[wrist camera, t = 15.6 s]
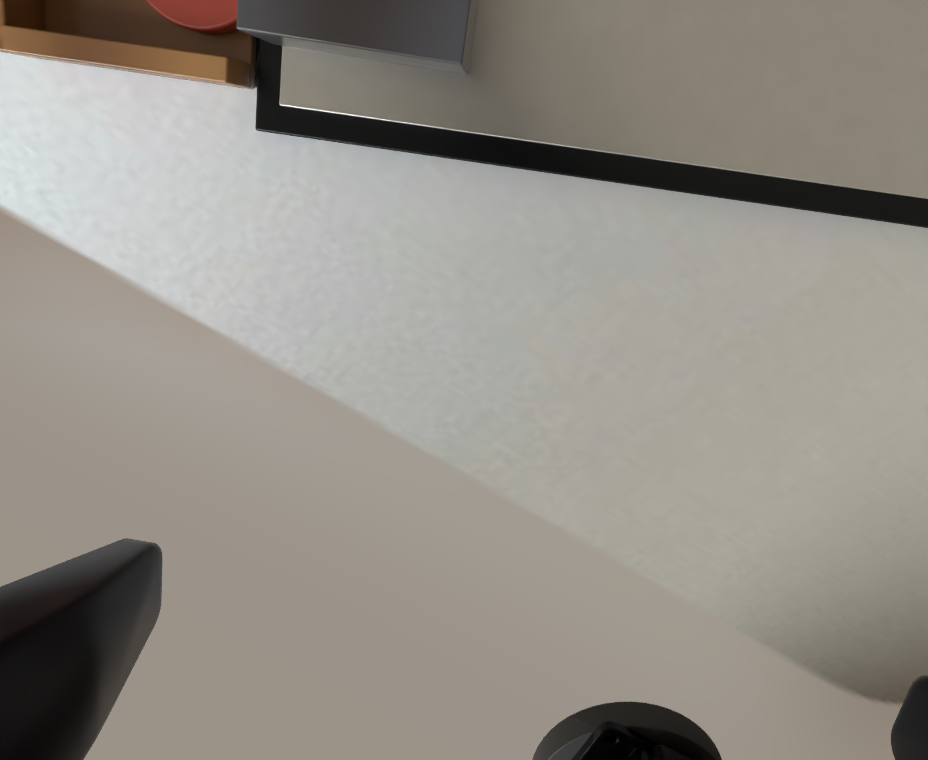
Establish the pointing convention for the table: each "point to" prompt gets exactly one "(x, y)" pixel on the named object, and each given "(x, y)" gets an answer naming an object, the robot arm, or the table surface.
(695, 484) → the table surface
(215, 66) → the tray
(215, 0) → the disc
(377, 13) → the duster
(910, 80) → the whiteboard
